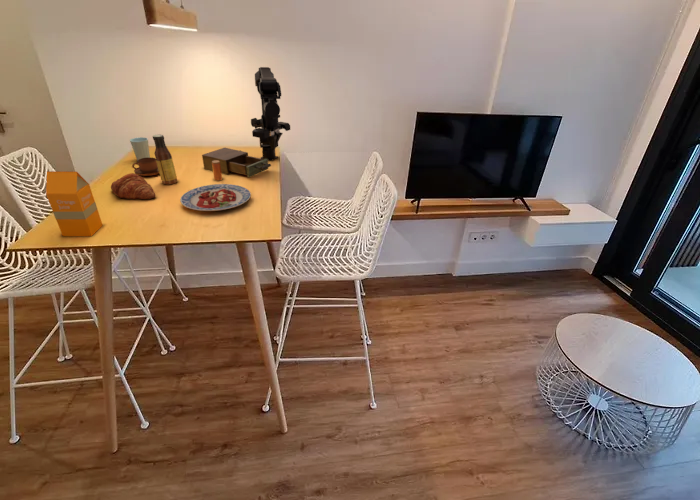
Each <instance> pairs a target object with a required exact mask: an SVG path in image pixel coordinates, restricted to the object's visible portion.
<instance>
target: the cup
mask: <svg viewBox="0 0 700 500" xmlns="http://www.w3.org/2000/svg"><path fill="white" fill-rule="evenodd" d="M129 143H130V145H131V147H132V150H133V152H134V155H135V158H136V161H137V162H138V160H139V159H142V158H149V157H151V155H150V145H149V138H148V137H142V136H141V137H133V138H130V139H129Z"/></svg>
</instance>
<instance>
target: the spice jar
mask: <svg viewBox="0 0 700 500" xmlns="http://www.w3.org/2000/svg"><path fill="white" fill-rule="evenodd" d="M212 168H213V171H212V174H213V179H214V181H222V180H223V173H221V166H220V161H218V160H214V161H212Z"/></svg>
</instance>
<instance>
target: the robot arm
mask: <svg viewBox="0 0 700 500" xmlns="http://www.w3.org/2000/svg"><path fill="white" fill-rule="evenodd" d="M254 85H255V87H256V90H257V92H258V94H259V97H260V101H261V103H260V104H261V116H260V118H259V119H258V118H257V117H253V118H251V119H250V125H251V127H252V128H254V129H253V130H252V131H251V134H252V135H251V136H252V137H254V138H259V140H258V141H259V148H260V149H261V153H262V157H261V156H260V159H263V160H264V159H268V162H270V161H274V160H276V159H278V158H279V156H277V155H276V148H278V147H279V141H280V139H281V137H282V136H283V132H281V130H284V131H285V132H288V131H290V130H291V124H290V123H289V122H284V121H279V119H280V118H281V113H280V112H281V108H280V105H279V103H278V100H281V97H282V89H281V85H280V82H278V80H277V78H275V74H274V73H273V71H271V67H268V66H260V67H258V71H256V72H255V73H254Z"/></svg>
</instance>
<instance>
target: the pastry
mask: <svg viewBox="0 0 700 500" xmlns="http://www.w3.org/2000/svg"><path fill="white" fill-rule="evenodd" d="M110 190H111V191H112V193H113V194H115V195H116V197H118V198H119V199H127V200H152V199H155V198H156V192H155V191H154V188H153V187H152V185H151V184H150V183H148V181H147V180H146V179H145V177H144V176H141V175H138V174H136V173H135V172H131V173H127V174H125V175H122V176H121V177H119V178H118V179H116V180H114V181H113V182H111V185H110Z"/></svg>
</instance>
